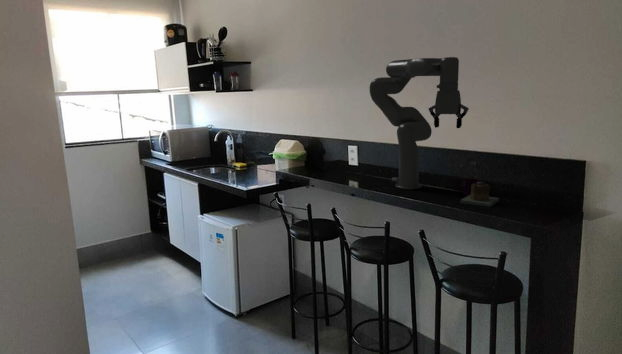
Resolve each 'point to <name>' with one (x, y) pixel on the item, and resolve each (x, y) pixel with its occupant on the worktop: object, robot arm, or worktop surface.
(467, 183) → the mug
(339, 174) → the worktop surface
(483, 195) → the collar
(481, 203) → the post block
